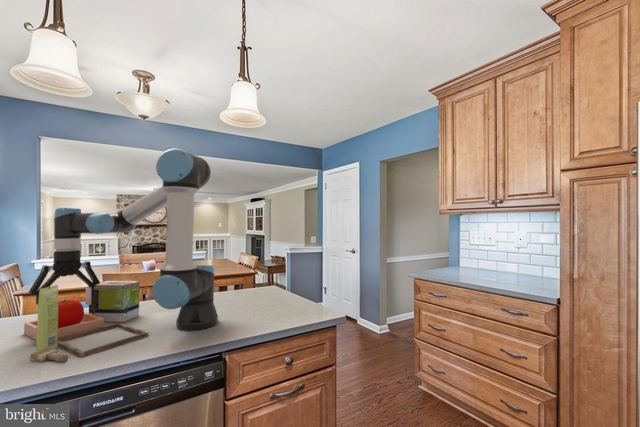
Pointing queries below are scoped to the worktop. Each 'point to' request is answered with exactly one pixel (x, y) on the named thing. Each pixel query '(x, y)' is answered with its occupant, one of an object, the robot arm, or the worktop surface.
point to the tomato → (69, 313)
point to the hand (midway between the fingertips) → (66, 308)
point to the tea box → (115, 300)
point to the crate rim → (103, 347)
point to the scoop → (48, 355)
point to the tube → (47, 319)
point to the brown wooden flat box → (85, 325)
